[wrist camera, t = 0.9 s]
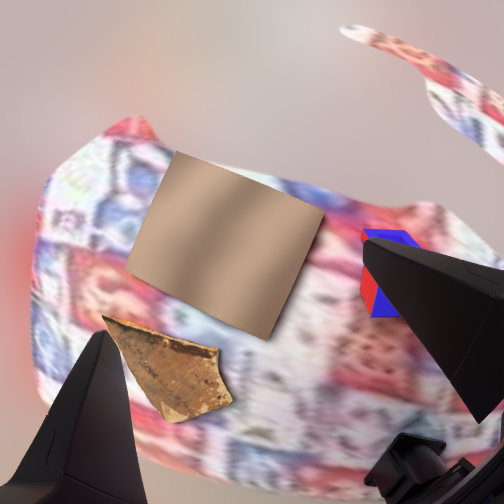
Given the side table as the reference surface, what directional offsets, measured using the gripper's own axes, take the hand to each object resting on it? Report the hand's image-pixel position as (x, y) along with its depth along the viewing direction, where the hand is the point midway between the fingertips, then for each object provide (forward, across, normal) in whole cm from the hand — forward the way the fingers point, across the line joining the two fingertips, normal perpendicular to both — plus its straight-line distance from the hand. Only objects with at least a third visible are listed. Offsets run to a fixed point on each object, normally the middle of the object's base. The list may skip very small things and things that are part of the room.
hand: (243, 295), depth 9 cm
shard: (+9, +7, +14) cm, 18 cm away
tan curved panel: (+12, -1, +5) cm, 13 cm away
